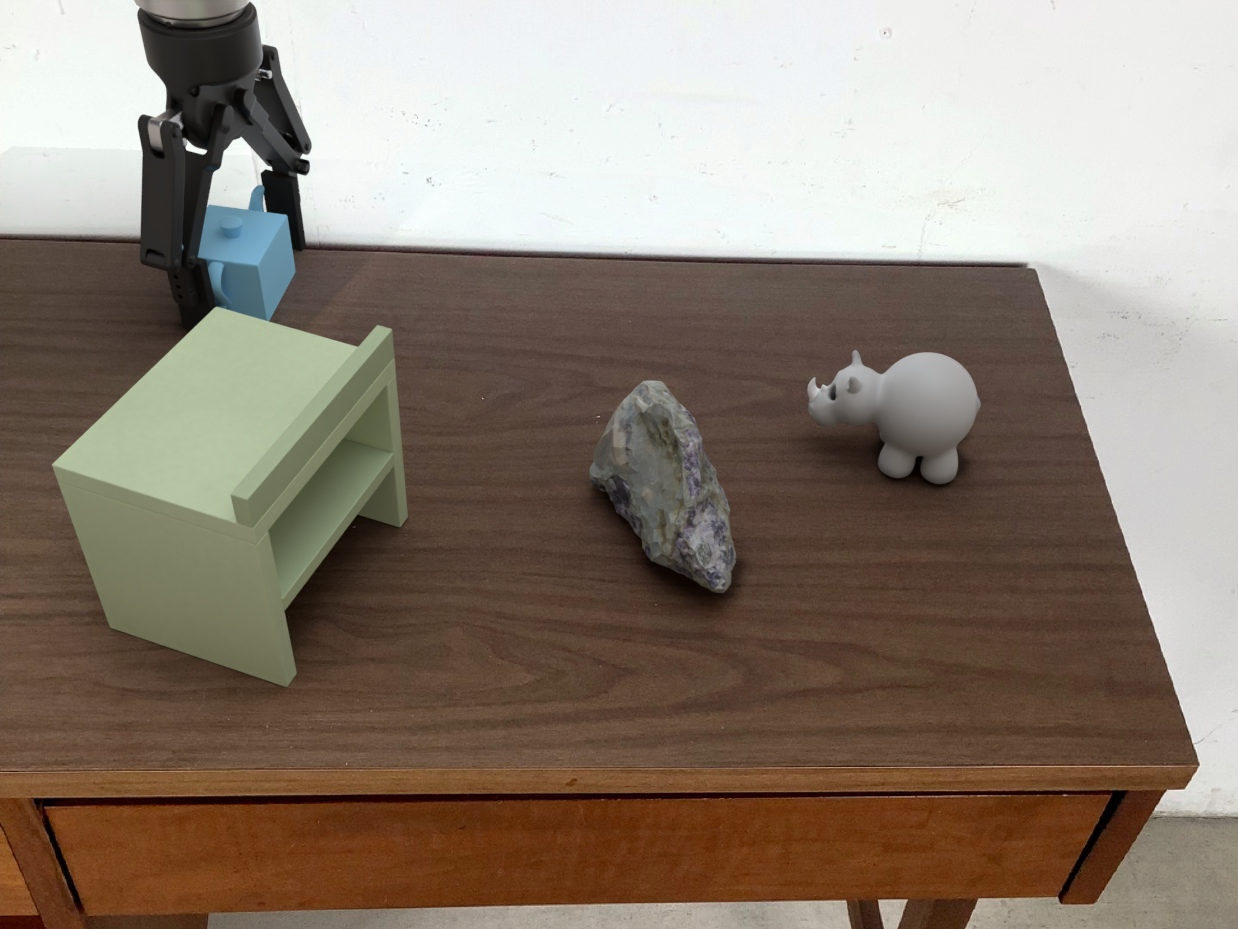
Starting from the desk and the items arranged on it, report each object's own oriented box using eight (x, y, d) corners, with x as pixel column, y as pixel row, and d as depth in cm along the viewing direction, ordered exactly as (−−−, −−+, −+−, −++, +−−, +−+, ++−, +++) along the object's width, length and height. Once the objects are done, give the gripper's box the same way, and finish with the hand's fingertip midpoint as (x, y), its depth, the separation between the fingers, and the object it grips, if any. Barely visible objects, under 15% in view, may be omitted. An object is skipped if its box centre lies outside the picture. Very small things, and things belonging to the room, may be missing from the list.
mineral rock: (727, 618, 81) (749, 502, 74) (561, 592, 82) (566, 475, 74) (744, 485, 90) (765, 369, 82) (594, 463, 90) (602, 345, 83)
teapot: (236, 255, 104) (220, 168, 98) (310, 264, 104) (298, 179, 98) (184, 341, 96) (164, 252, 90) (264, 351, 96) (248, 263, 90)
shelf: (109, 628, 77) (40, 434, 66) (249, 467, 87) (209, 277, 76) (287, 688, 75) (247, 499, 64) (408, 517, 85) (392, 328, 74)
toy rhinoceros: (801, 408, 96) (821, 312, 90) (959, 436, 96) (991, 341, 89) (791, 469, 92) (812, 372, 85) (957, 499, 91) (990, 404, 84)
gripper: (137, 94, 74) (205, 391, 91) (337, -49, 90) (365, 226, 106) (27, 66, 76) (113, 364, 92) (243, -71, 91) (284, 205, 107)
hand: (248, 291), depth 99 cm, fingers open, 12 cm apart
